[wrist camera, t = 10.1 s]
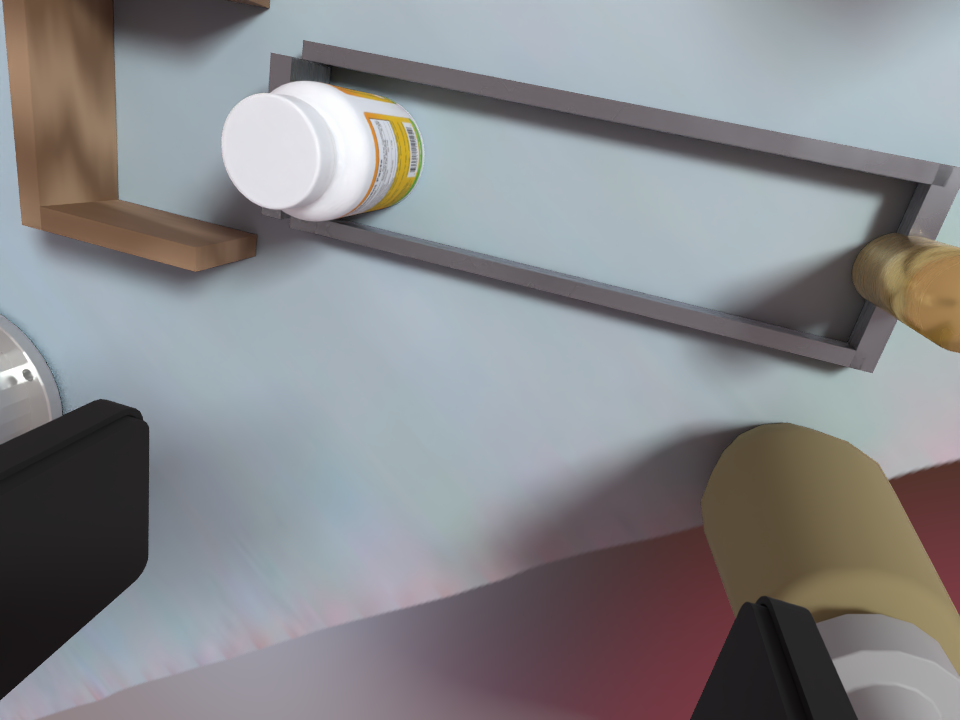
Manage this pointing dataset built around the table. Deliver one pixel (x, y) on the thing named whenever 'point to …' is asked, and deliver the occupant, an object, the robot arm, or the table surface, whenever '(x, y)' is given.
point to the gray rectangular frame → (878, 267)
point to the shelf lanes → (89, 140)
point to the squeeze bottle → (837, 565)
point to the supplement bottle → (322, 150)
